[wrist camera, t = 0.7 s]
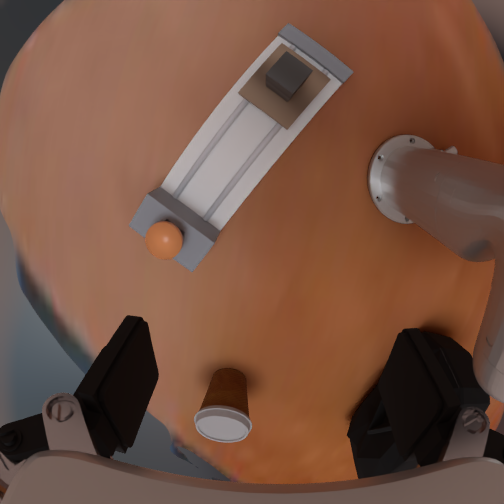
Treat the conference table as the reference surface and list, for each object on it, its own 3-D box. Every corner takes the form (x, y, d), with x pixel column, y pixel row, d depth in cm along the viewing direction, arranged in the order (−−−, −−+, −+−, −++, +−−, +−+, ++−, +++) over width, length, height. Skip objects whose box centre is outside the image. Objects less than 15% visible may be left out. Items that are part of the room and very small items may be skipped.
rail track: (287, 29, 29) (290, 12, 24) (348, 75, 31) (362, 66, 26) (146, 212, 40) (128, 225, 34) (201, 253, 42) (192, 272, 36)
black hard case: (376, 422, 57) (393, 490, 39) (333, 419, 56) (344, 494, 38) (453, 327, 46) (501, 398, 27) (410, 316, 45) (460, 400, 26)
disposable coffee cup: (250, 360, 49) (245, 413, 38) (258, 393, 53) (255, 443, 42) (198, 363, 50) (185, 413, 39) (211, 395, 54) (202, 443, 43)
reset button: (163, 209, 33) (156, 215, 31) (193, 231, 34) (188, 238, 32) (146, 237, 35) (139, 244, 32) (174, 258, 36) (169, 266, 33)
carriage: (281, 47, 28) (285, 21, 20) (327, 82, 30) (346, 66, 21) (239, 94, 31) (230, 82, 23) (286, 129, 32) (293, 127, 24)
